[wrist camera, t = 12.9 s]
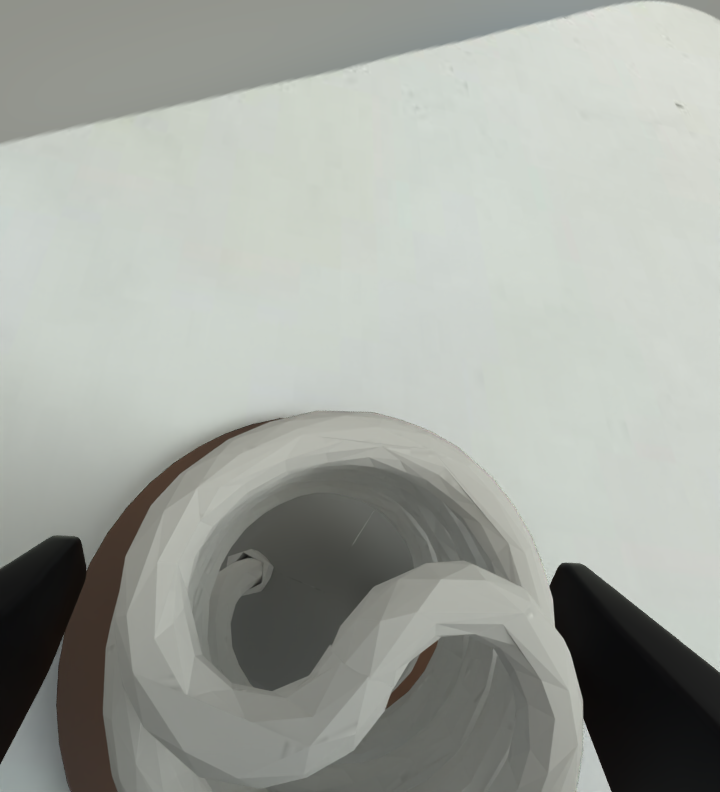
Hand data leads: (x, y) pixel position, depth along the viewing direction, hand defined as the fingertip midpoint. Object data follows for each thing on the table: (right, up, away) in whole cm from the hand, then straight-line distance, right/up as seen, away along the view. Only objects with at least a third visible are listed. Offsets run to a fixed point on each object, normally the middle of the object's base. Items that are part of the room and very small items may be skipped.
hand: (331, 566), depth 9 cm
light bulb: (-1, -3, +7) cm, 7 cm away
